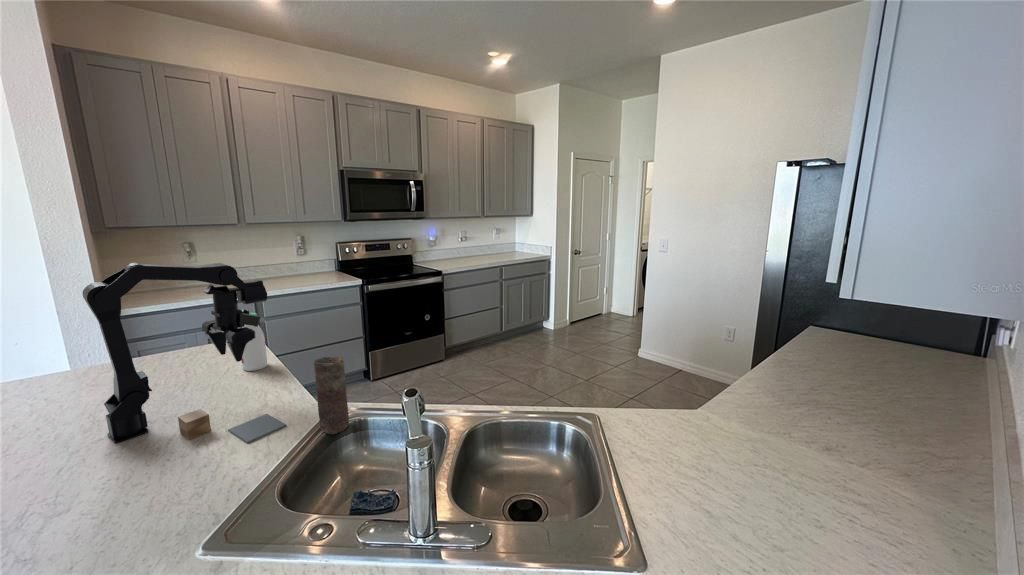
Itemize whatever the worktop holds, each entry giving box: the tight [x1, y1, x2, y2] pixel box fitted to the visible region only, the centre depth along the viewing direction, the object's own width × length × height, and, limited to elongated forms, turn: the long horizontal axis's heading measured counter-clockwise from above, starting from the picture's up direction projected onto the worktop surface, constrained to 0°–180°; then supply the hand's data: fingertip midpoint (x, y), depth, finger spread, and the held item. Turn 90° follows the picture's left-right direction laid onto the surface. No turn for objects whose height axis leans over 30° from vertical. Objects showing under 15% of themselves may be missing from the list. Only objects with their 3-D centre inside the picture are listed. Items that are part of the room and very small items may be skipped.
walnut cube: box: [177, 408, 212, 441], centre depth 107 cm, size 5×5×5 cm
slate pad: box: [227, 413, 287, 445], centre depth 110 cm, size 10×10×1 cm
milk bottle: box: [241, 312, 268, 372], centre depth 146 cm, size 8×8×20 cm
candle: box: [313, 356, 350, 435], centre depth 109 cm, size 8×7×20 cm
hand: (230, 357), depth 122 cm, fingers open, 9 cm apart
